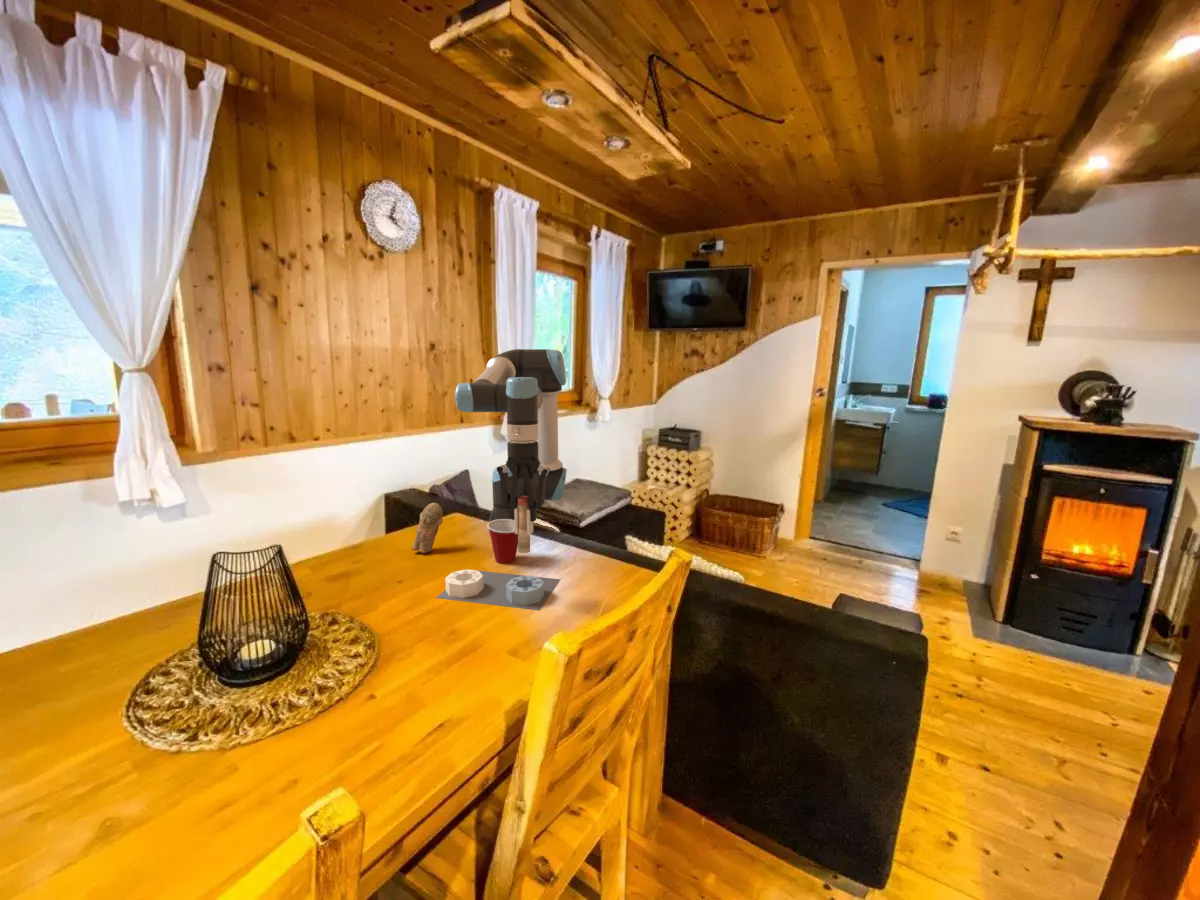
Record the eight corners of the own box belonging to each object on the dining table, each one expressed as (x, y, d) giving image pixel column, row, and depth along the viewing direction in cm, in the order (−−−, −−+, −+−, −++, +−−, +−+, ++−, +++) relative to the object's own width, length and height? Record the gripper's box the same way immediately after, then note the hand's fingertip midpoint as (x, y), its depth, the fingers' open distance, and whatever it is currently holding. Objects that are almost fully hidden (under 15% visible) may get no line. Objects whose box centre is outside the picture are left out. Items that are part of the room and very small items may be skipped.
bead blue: (515, 587, 134) (515, 574, 134) (547, 590, 132) (547, 578, 132) (501, 602, 125) (501, 589, 125) (536, 606, 124) (535, 593, 123)
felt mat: (468, 570, 145) (468, 569, 145) (560, 580, 139) (560, 579, 139) (435, 599, 128) (435, 597, 128) (539, 611, 122) (539, 610, 122)
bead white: (457, 580, 138) (456, 568, 137) (487, 584, 136) (487, 571, 135) (440, 595, 129) (439, 582, 128) (472, 599, 127) (472, 586, 126)
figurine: (410, 553, 157) (407, 508, 154) (426, 544, 164) (423, 501, 162) (433, 557, 154) (430, 510, 152) (448, 548, 162) (446, 503, 159)
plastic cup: (511, 571, 145) (510, 532, 143) (480, 564, 149) (479, 526, 147) (530, 558, 155) (530, 521, 153) (501, 552, 159) (500, 516, 157)
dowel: (520, 548, 128) (520, 495, 126) (532, 549, 127) (531, 496, 125) (516, 552, 125) (515, 498, 123) (527, 553, 124) (527, 499, 122)
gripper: (486, 441, 119) (489, 535, 123) (548, 444, 116) (549, 540, 120) (499, 437, 127) (501, 525, 131) (557, 440, 124) (557, 530, 128)
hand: (524, 532), depth 125 cm, fingers closed on dowel, 2 cm apart
